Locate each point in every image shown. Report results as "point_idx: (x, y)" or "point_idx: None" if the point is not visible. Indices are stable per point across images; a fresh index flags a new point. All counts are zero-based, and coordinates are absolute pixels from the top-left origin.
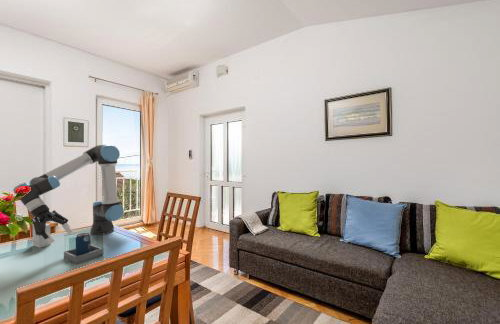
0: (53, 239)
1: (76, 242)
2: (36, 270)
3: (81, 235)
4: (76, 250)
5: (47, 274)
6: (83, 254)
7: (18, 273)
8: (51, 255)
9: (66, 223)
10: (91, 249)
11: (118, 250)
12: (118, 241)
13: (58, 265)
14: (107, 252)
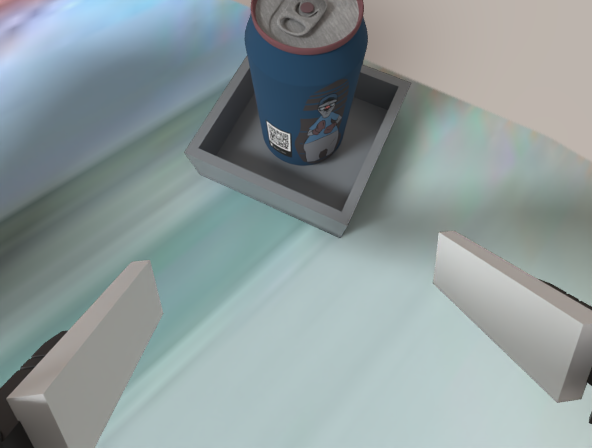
0: (456, 240)
1: (358, 76)
2: (511, 257)
3: (326, 11)
4: (346, 122)
5: (525, 157)
6: (367, 68)
7: None
8: (304, 378)
9: (23, 381)
10: (220, 142)
11: (199, 27)
12: (42, 105)
13: (428, 189)
14: (229, 62)
